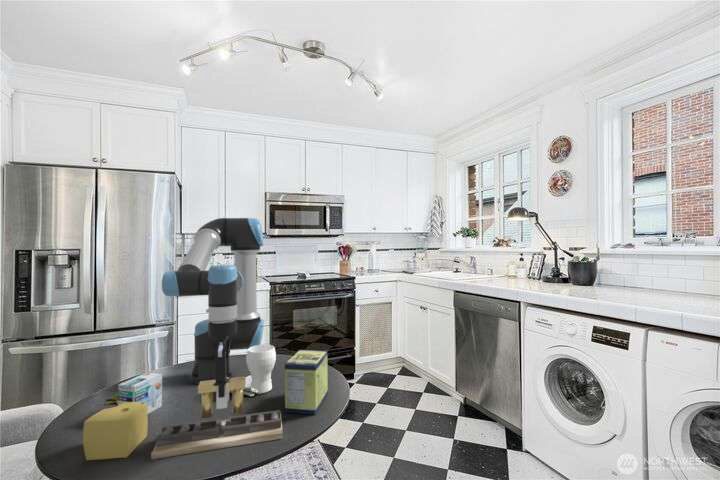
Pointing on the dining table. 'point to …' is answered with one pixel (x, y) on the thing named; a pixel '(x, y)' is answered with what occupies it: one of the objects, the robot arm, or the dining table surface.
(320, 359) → the protein box
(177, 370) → the dining table surface
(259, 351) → the cup
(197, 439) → the chain jig
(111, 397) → the red green plant
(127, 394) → the light bulb box
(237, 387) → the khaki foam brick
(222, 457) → the dining table surface
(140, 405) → the cheese
